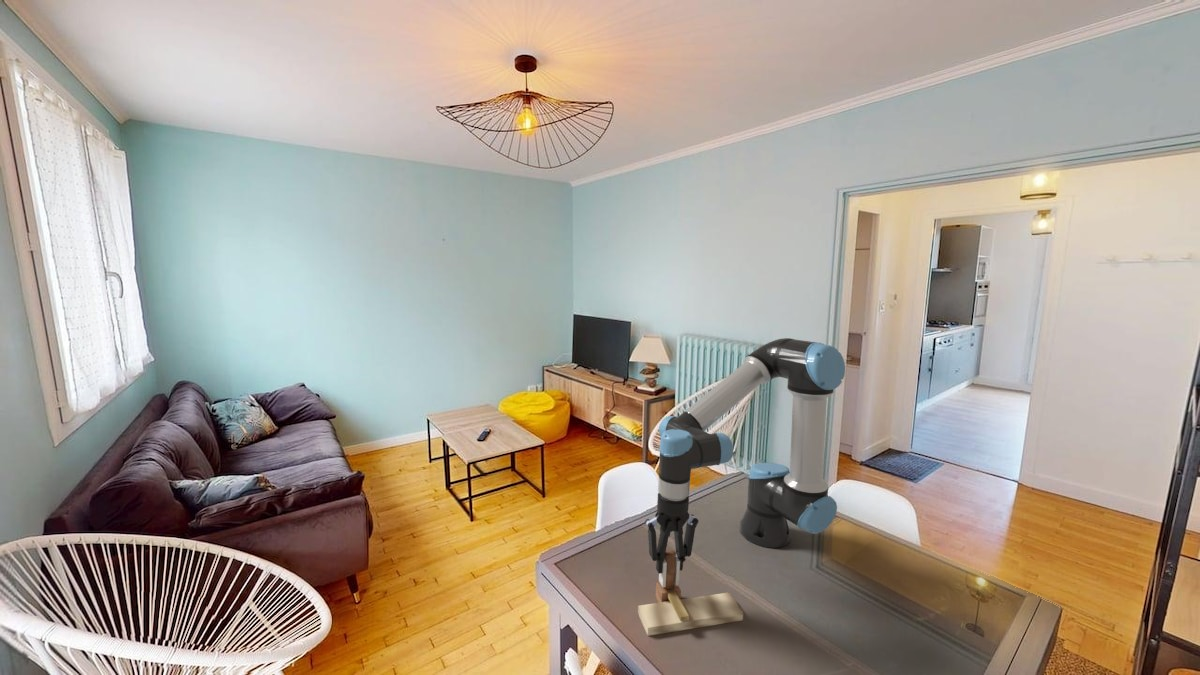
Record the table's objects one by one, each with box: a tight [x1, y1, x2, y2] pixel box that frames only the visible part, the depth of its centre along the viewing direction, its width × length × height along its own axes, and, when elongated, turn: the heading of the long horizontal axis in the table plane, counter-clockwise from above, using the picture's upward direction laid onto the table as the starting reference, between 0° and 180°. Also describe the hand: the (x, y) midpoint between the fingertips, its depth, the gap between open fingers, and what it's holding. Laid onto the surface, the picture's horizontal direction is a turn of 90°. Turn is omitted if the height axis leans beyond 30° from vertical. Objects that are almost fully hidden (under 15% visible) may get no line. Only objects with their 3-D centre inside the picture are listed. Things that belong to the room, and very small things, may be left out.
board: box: [637, 592, 744, 637], centre depth 106 cm, size 24×7×2 cm, turn 103°
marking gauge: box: [655, 549, 689, 621], centre depth 106 cm, size 5×12×13 cm, turn 13°
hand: (668, 582), depth 111 cm, fingers closed on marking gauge, 3 cm apart
